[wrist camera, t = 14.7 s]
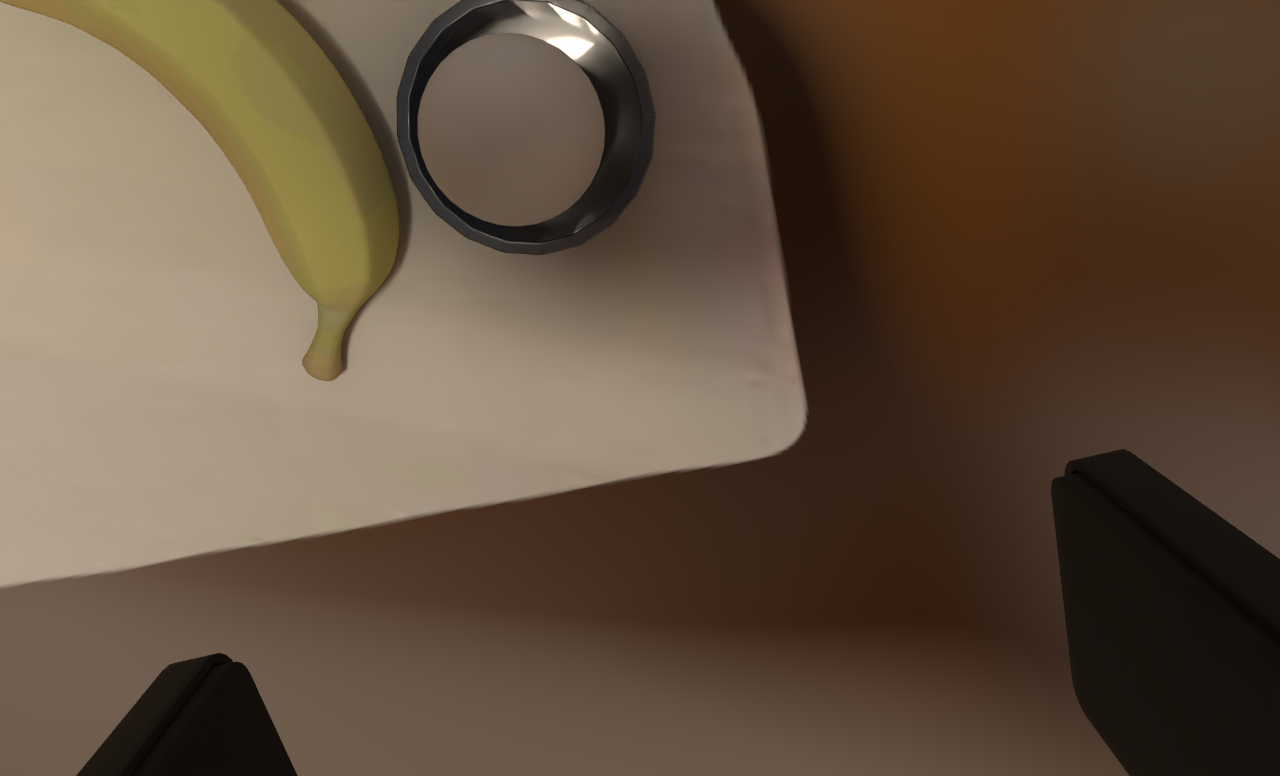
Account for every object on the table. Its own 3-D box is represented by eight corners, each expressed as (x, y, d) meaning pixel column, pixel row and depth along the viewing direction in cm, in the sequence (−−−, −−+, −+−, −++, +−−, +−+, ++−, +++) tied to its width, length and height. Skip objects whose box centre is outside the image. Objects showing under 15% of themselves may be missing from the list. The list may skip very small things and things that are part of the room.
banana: (194, -170, 27) (411, 395, 36) (293, -159, 32) (464, 337, 40) (-112, -60, 31) (148, 424, 40) (17, -64, 36) (224, 369, 44)
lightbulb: (552, 14, 35) (518, -21, 25) (639, 144, 37) (641, 163, 26) (434, 105, 36) (353, 109, 26) (523, 227, 38) (481, 277, 27)
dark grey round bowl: (392, 33, 36) (360, 25, 32) (620, -29, 35) (617, -47, 31) (464, 260, 39) (443, 280, 35) (675, 206, 38) (680, 220, 34)
